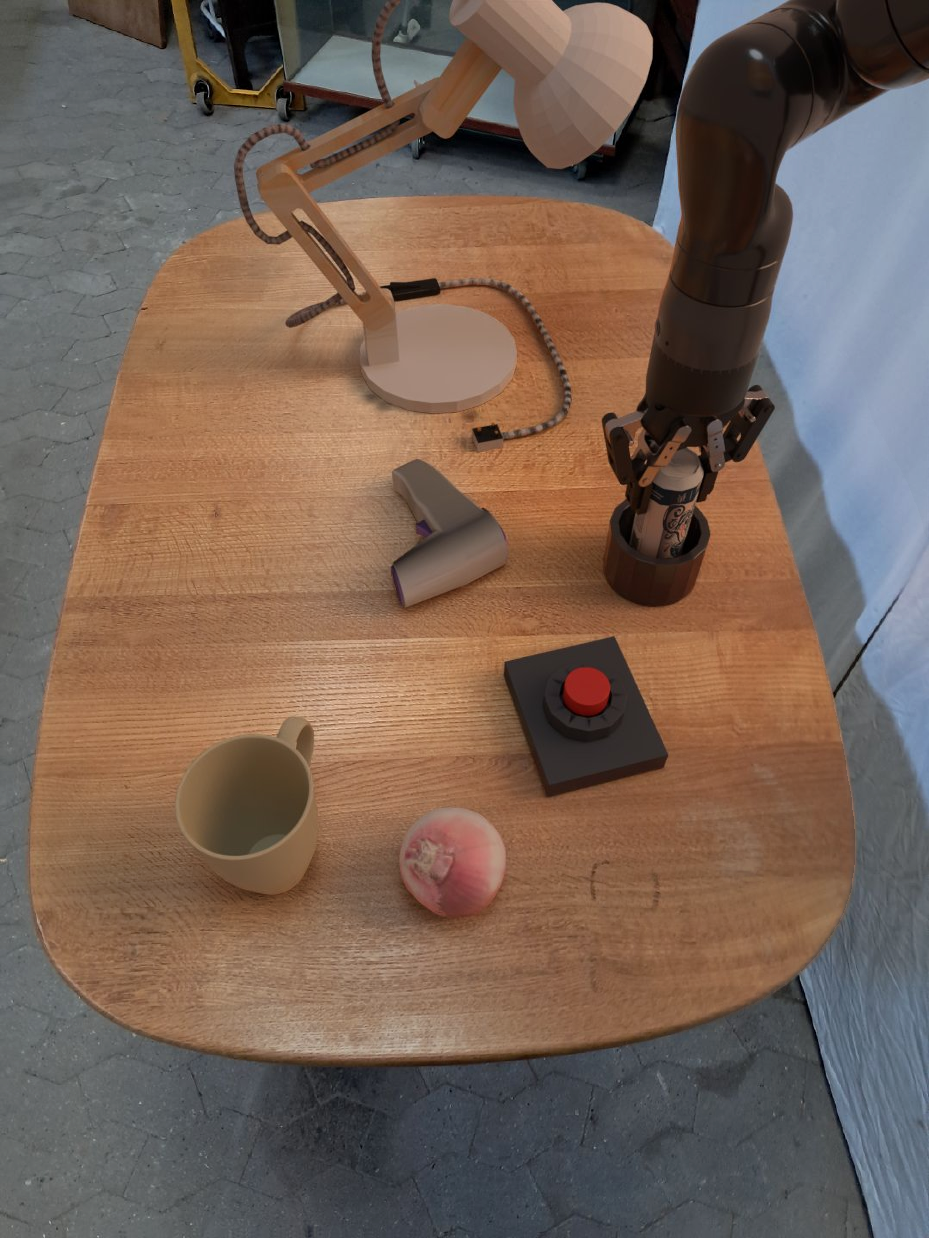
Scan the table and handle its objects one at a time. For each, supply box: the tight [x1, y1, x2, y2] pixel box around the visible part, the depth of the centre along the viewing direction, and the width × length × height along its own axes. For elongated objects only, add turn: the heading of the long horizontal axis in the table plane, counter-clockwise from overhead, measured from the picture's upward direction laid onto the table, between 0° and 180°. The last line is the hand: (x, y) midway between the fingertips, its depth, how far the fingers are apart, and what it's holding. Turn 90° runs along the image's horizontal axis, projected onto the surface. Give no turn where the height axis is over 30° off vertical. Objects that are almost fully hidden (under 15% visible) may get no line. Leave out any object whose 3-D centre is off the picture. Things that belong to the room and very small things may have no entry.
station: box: [503, 636, 669, 798], centre depth 75 cm, size 12×10×4 cm
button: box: [563, 667, 610, 716], centre depth 73 cm, size 4×4×2 cm
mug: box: [174, 715, 320, 896], centre depth 65 cm, size 11×10×12 cm
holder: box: [602, 498, 711, 608], centre depth 83 cm, size 9×9×6 cm
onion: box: [398, 806, 508, 919], centre depth 65 cm, size 8×8×7 cm
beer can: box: [629, 447, 704, 558], centre depth 79 cm, size 5×5×12 cm
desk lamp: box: [233, 0, 654, 453], centre depth 88 cm, size 31×38×40 cm
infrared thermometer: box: [390, 458, 509, 609], centre depth 86 cm, size 5×12×15 cm
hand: (667, 500), depth 78 cm, fingers closed on beer can, 4 cm apart
